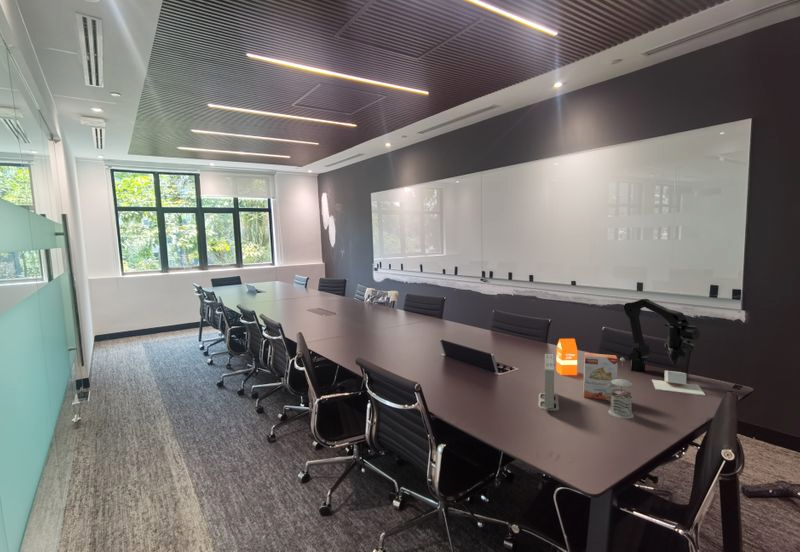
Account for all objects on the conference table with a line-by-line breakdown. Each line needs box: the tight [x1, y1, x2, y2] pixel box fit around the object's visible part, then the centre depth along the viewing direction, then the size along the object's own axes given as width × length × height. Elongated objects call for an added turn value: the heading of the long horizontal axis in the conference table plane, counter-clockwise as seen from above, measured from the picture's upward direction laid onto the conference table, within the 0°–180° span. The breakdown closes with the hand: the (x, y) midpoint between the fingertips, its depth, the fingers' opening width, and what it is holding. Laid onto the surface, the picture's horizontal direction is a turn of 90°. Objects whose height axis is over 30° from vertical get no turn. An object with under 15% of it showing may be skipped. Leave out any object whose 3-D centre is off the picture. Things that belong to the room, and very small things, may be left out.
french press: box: [604, 357, 635, 420], centre depth 170 cm, size 10×12×25 cm
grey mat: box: [651, 379, 706, 397], centre depth 198 cm, size 20×14×1 cm
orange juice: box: [555, 338, 578, 376], centre depth 223 cm, size 8×9×20 cm
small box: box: [663, 370, 687, 384], centre depth 202 cm, size 8×6×10 cm
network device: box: [537, 353, 560, 411], centre depth 183 cm, size 26×9×20 cm, turn 160°
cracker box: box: [582, 352, 619, 401], centre depth 187 cm, size 14×6×21 cm, turn 68°
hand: (674, 364), depth 206 cm, fingers closed
